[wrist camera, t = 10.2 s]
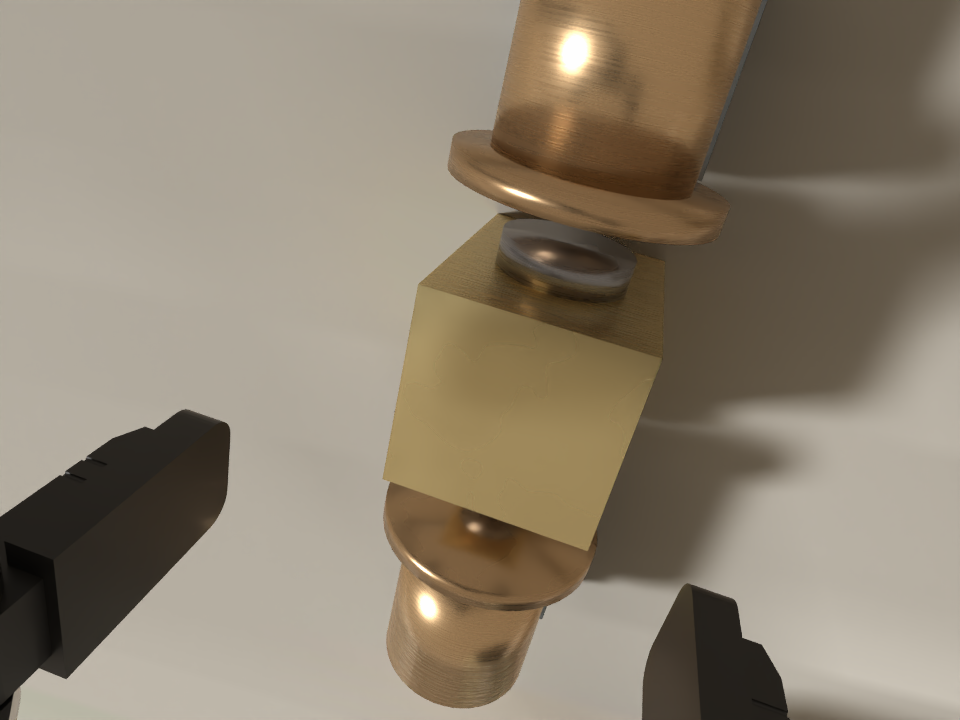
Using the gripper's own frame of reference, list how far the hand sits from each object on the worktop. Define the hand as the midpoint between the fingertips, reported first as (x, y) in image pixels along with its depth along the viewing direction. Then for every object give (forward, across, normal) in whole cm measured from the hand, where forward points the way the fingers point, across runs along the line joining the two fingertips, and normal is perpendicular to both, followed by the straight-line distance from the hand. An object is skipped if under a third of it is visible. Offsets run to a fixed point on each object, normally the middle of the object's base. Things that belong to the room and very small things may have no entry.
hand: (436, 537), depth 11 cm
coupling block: (+10, -1, 0) cm, 11 cm away
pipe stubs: (+10, -1, 0) cm, 11 cm away
